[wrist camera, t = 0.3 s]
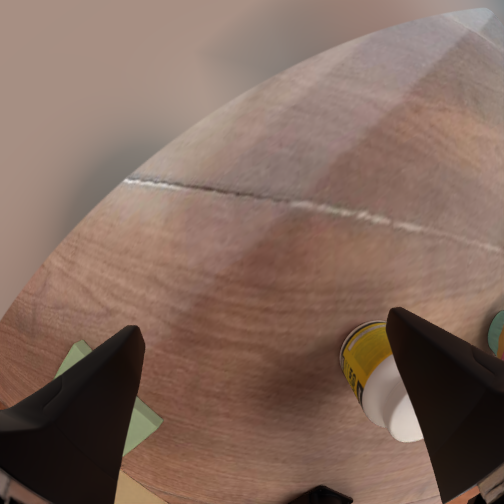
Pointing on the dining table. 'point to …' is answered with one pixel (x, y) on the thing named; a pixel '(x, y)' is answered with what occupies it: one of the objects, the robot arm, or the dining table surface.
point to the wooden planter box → (134, 492)
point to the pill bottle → (378, 381)
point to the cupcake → (497, 335)
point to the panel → (142, 415)
